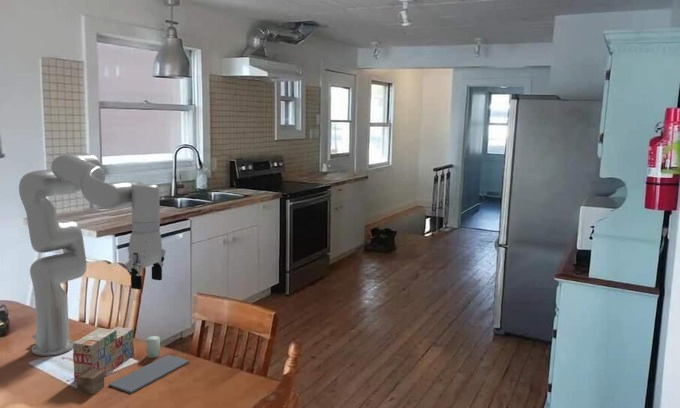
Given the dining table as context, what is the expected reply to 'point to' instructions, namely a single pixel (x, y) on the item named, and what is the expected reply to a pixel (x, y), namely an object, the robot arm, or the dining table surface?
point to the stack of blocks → (102, 350)
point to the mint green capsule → (153, 347)
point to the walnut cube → (90, 381)
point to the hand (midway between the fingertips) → (146, 284)
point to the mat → (148, 374)
